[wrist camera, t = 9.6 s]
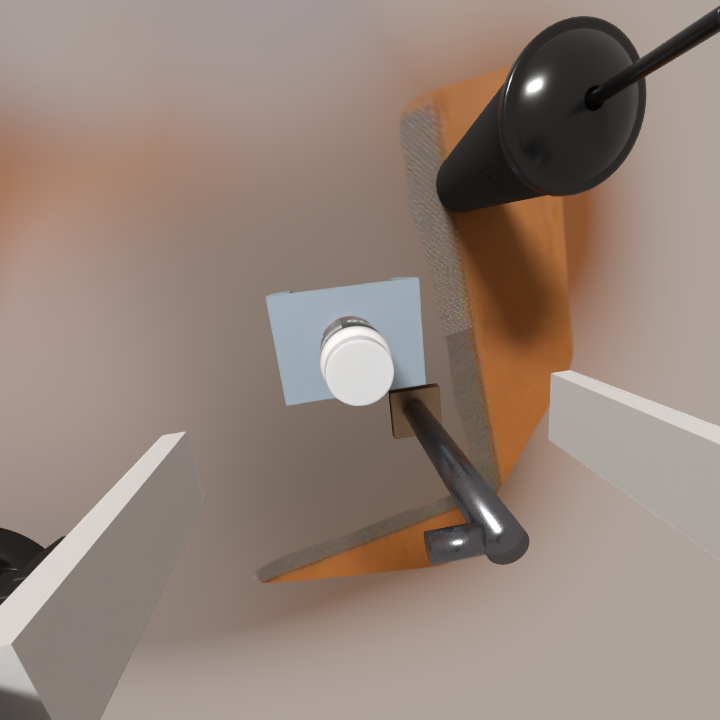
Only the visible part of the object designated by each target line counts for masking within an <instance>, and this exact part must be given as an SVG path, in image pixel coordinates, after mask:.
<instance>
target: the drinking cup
mask: <svg viewBox="0 0 720 720" xmlns="http://www.w3.org/2000/svg"><path fill="white" fill-rule="evenodd" d="M718 32H720V6H718V7H717V8H715V9H714V10H712V11H711V12H709V13H708V14H706V15H705V16H703V17H702V18H700V19H699V20H698V21H696V22H694V23H693V24H692V25H690V26H688V27H687V28H685V29H684V30H683V31H681V32H680V33H678V34H676V35H675V36H673V37H672V38H671V39H669V40H668V41H666V42H665V43H663V44H662V45H660V46H659V47H657V48H656V49H654V50H653V51H651V52H650V53H648V54H647V55H645V56H644V57H642V58H641V59H640V58H639V55H638V53H637V51H636V49H635V47H634V45H633V44H632V43H631V41H630V40H629V38H628V37H627V36H626V35H625V34H624V33H623V32H622V31H621V30H620V29H619V28H617V27H616V26H614V25H613V24H611V23H609V22H607V21H605V20H602V19H599V18H595V17H587V16H579V17H572V18H568V19H565V20H562V21H559V22H557V23H555V24H553V25H551V26H549V27H547V28H546V29H545V30H543V31H542V32H540V33H539V34H538V35H537V36H536V37H535V38H534V39H533V40H532V41H531V42H530V43H529V44H528V45H527V46H526V47H525V48H524V49H523V51H522V52H521V53H520V55H519V56H518V57H517V59H516V61H515V62H514V64H513V65H512V67H511V69H510V71H509V73H508V75H507V78H506V80H505V83H504V84H503V85H502V87H501V88H500V89H499V91H498V92H497V93H496V95H495V96H494V97H493V99H492V100H491V101H490V102H489V104H488V105H487V106H486V108H485V109H484V110H483V112H482V113H481V114H480V116H479V117H478V118H477V119H476V121H475V122H474V123H473V125H472V126H471V127H470V129H469V130H468V131H467V133H466V134H465V135H464V136H463V138H462V139H461V140H460V142H459V143H458V144H457V146H456V147H455V148H454V150H453V151H452V152H451V153H450V155H449V156H448V157H447V159H446V160H445V161H444V163H443V164H442V166H441V167H440V169H439V172H438V175H437V181H436V187H437V192H438V195H439V198H440V200H441V201H442V203H443V204H444V205H445V206H446V207H448V208H449V209H451V210H453V211H457V212H465V211H470V210H475V209H480V208H485V207H490V206H495V205H500V204H505V203H510V202H515V201H520V200H525V199H530V198H535V197H540V196H545V195H550V196H570V195H575V194H579V193H582V192H585V191H587V190H590V189H592V188H594V187H596V186H597V185H599V184H600V183H602V182H603V181H605V180H606V179H607V178H609V177H610V176H611V175H612V174H613V173H614V172H615V171H616V170H617V169H618V168H619V166H620V165H621V164H622V163H623V162H624V160H625V159H626V158H627V156H628V154H629V153H630V151H631V150H632V148H633V145H634V144H635V142H636V139H637V137H638V135H639V132H640V129H641V126H642V122H643V118H644V113H645V106H646V81H645V77H646V76H647V75H649V74H650V73H652V72H654V71H656V70H657V69H659V68H661V67H662V66H664V65H665V64H667V63H669V62H670V61H672V60H674V59H675V58H677V57H679V56H680V55H682V54H684V53H685V52H687V51H689V50H690V49H692V48H694V47H695V46H697V45H699V44H700V43H702V42H704V41H705V40H707V39H709V38H710V37H712V36H714V35H715V34H717V33H718Z"/></svg>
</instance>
